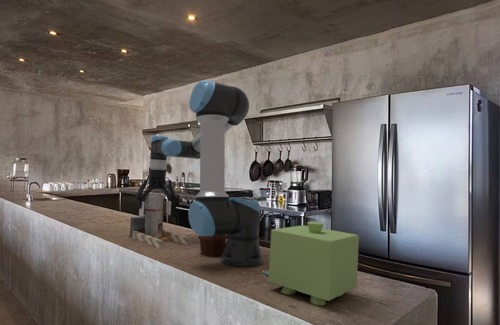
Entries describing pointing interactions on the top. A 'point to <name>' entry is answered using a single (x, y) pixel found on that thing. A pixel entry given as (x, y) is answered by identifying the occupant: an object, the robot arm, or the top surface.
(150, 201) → the grey cylinder
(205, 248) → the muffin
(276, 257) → the container
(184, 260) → the top surface
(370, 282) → the top surface
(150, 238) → the track
